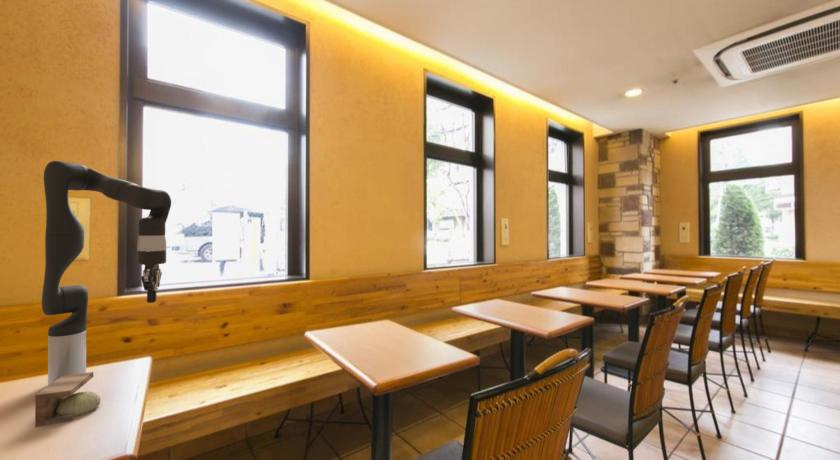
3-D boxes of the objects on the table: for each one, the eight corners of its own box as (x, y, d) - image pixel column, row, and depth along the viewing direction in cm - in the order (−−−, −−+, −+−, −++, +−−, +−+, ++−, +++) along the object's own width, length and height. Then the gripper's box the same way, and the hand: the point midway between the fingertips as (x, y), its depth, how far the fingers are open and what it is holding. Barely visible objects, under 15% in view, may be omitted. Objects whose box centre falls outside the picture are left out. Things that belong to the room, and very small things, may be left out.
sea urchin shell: (73, 415, 96) (59, 391, 98) (59, 432, 98) (45, 409, 99) (110, 399, 105) (97, 378, 107) (97, 415, 107) (84, 394, 108)
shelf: (62, 403, 106) (62, 375, 106) (93, 399, 109) (93, 371, 109) (35, 427, 93) (35, 395, 94) (70, 421, 96) (70, 390, 96)
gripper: (144, 248, 120) (144, 299, 119) (130, 250, 107) (130, 307, 107) (170, 248, 123) (170, 297, 122) (160, 250, 110) (160, 305, 110)
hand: (151, 302), depth 115 cm, fingers closed
